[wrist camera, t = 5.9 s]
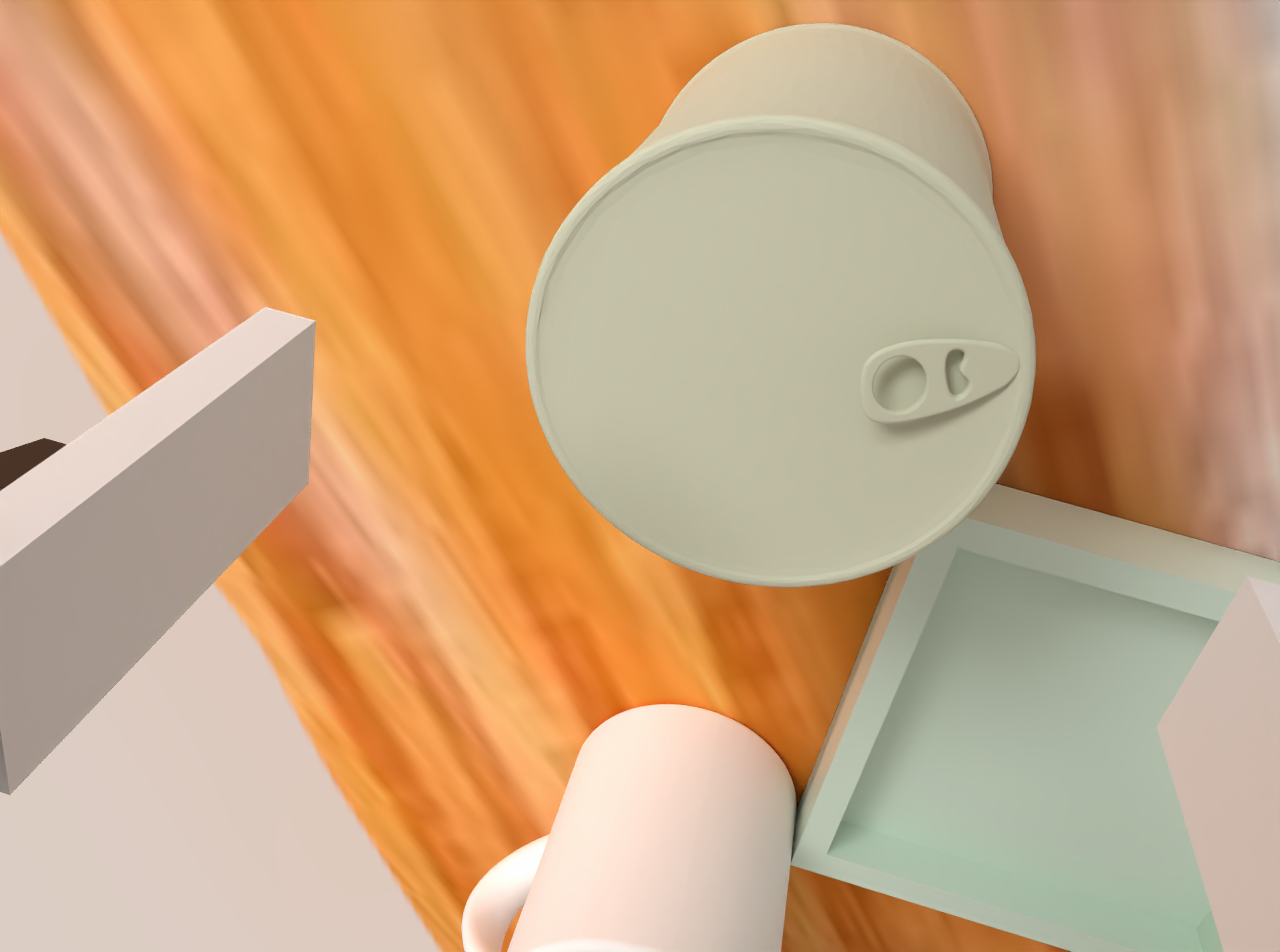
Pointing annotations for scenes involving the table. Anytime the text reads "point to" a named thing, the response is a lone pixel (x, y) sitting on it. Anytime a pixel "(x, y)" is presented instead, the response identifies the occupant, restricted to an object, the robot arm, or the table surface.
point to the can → (788, 318)
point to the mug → (652, 846)
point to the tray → (1027, 729)
